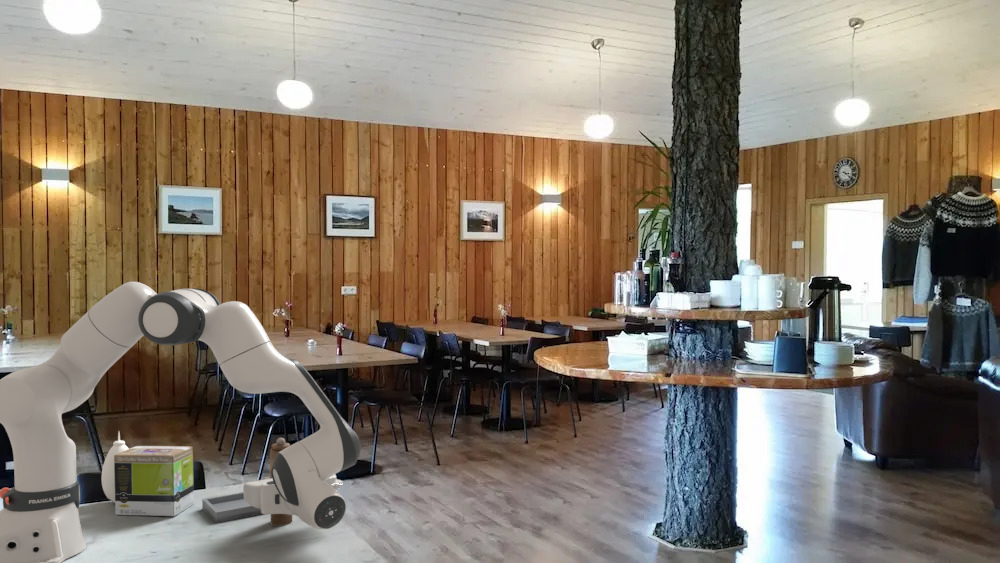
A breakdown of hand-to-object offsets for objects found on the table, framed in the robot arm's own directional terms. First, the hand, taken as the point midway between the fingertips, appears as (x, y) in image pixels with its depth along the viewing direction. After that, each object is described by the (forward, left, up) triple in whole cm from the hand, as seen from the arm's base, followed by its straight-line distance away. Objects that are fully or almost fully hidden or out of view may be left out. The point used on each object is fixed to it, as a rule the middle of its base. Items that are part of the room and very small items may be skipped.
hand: (279, 478), depth 178 cm
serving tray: (-6, +13, -10) cm, 18 cm away
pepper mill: (0, -1, -10) cm, 10 cm away
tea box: (-22, +25, -10) cm, 35 cm away
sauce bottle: (-28, +36, -10) cm, 47 cm away
